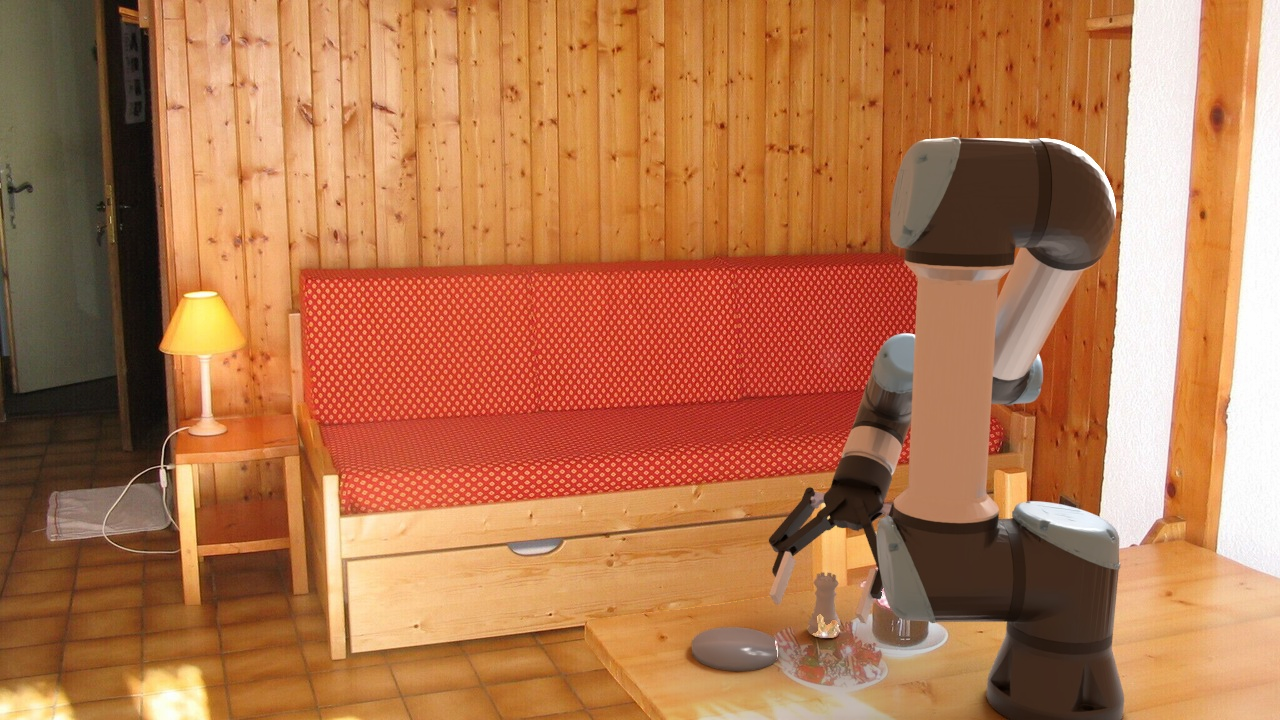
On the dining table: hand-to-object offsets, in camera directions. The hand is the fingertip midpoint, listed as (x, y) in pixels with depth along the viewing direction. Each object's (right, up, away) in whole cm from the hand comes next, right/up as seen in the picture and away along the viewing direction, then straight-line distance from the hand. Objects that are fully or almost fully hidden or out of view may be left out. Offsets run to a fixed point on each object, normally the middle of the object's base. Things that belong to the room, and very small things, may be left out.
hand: (816, 609), depth 165 cm
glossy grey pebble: (-11, -5, -3) cm, 12 cm away
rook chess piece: (+1, -4, +3) cm, 5 cm away
